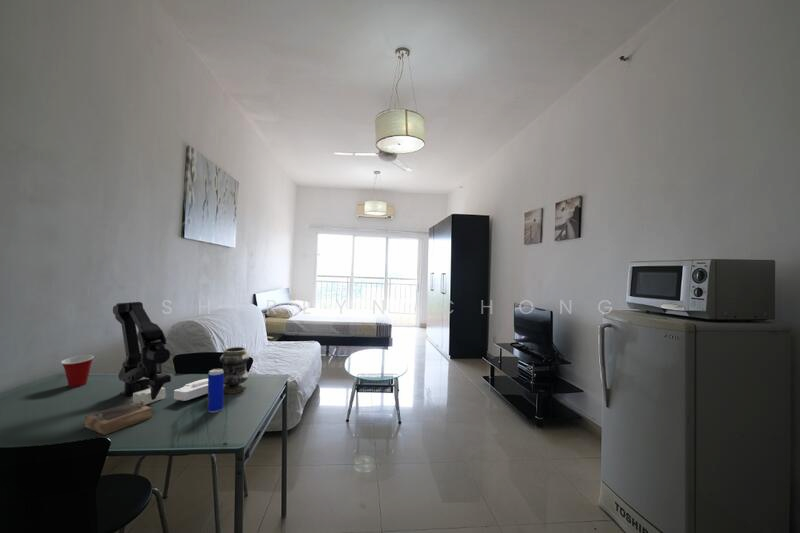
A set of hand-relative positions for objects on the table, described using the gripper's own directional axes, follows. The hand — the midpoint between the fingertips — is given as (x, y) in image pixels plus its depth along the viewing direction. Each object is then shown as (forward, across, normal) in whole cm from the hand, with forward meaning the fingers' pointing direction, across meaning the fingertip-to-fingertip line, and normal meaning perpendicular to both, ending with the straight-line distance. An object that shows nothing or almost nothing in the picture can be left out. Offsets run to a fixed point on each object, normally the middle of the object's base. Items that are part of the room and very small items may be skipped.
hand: (149, 398), depth 136 cm
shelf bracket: (-2, +5, +14) cm, 15 cm away
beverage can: (+1, +31, +6) cm, 32 cm away
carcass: (+1, +11, -16) cm, 19 cm away
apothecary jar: (+1, +19, +24) cm, 31 cm away
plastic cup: (+1, -46, -4) cm, 46 cm away
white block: (+1, 0, 0) cm, 1 cm away
